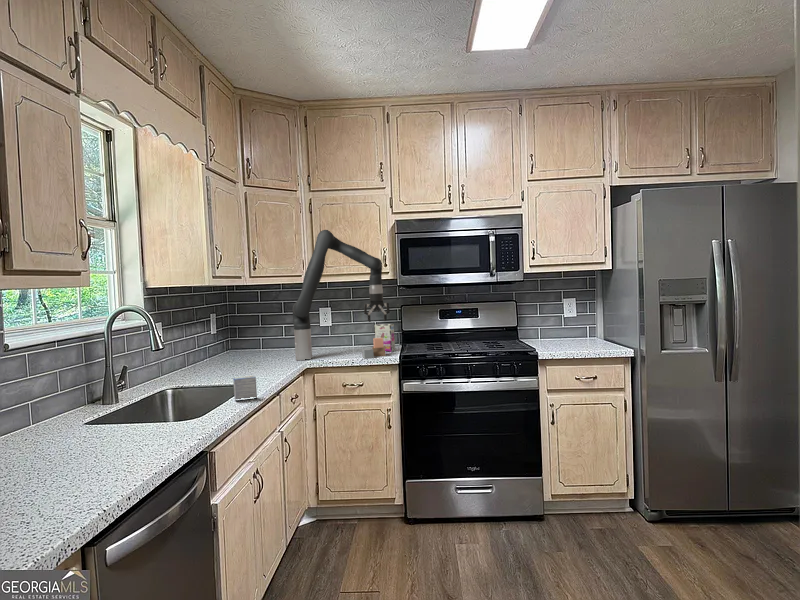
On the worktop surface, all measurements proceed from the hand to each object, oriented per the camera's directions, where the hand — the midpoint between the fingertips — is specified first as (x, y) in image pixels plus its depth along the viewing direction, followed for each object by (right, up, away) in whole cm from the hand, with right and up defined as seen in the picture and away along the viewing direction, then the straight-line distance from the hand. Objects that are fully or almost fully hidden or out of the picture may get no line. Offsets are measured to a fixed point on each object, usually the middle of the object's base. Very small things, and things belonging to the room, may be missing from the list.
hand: (377, 321), depth 311 cm
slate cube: (-5, -20, -7) cm, 22 cm away
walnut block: (+1, -20, +1) cm, 20 cm away
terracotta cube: (+1, -15, +1) cm, 15 cm away
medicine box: (-46, -26, -102) cm, 115 cm away
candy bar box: (+4, -19, +18) cm, 26 cm away
